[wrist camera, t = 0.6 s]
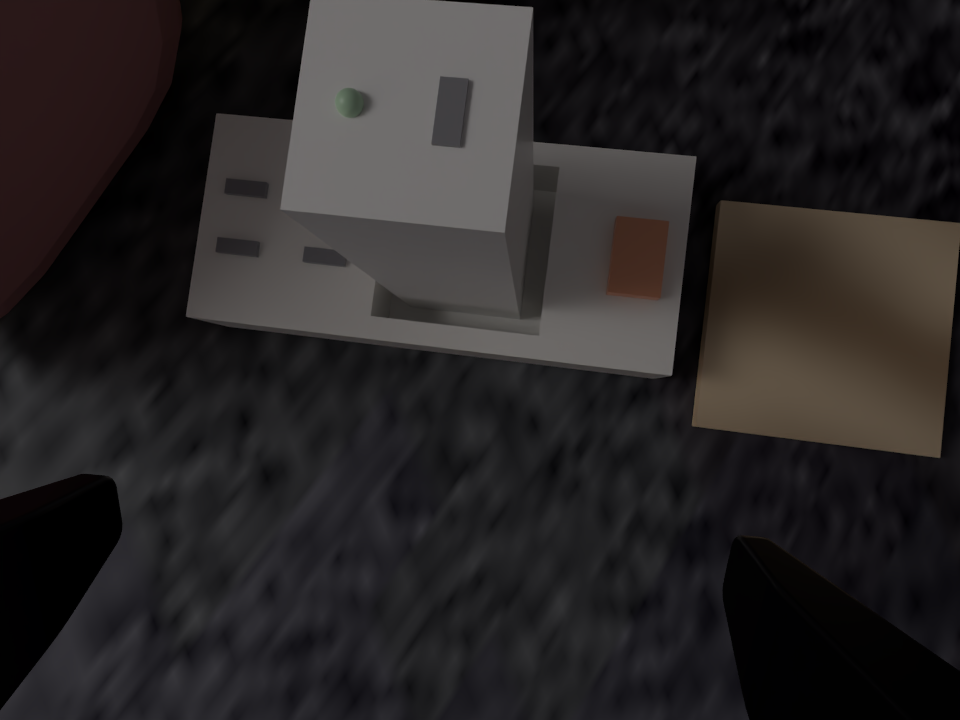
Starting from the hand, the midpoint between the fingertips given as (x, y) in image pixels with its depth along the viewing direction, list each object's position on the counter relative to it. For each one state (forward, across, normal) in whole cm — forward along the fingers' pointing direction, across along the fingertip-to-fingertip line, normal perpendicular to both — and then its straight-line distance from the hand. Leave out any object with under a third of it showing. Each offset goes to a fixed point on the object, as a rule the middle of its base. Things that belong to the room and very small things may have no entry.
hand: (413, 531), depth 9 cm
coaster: (+15, -12, 0) cm, 19 cm away
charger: (+15, +1, -1) cm, 15 cm away
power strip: (+16, +2, -1) cm, 16 cm away
